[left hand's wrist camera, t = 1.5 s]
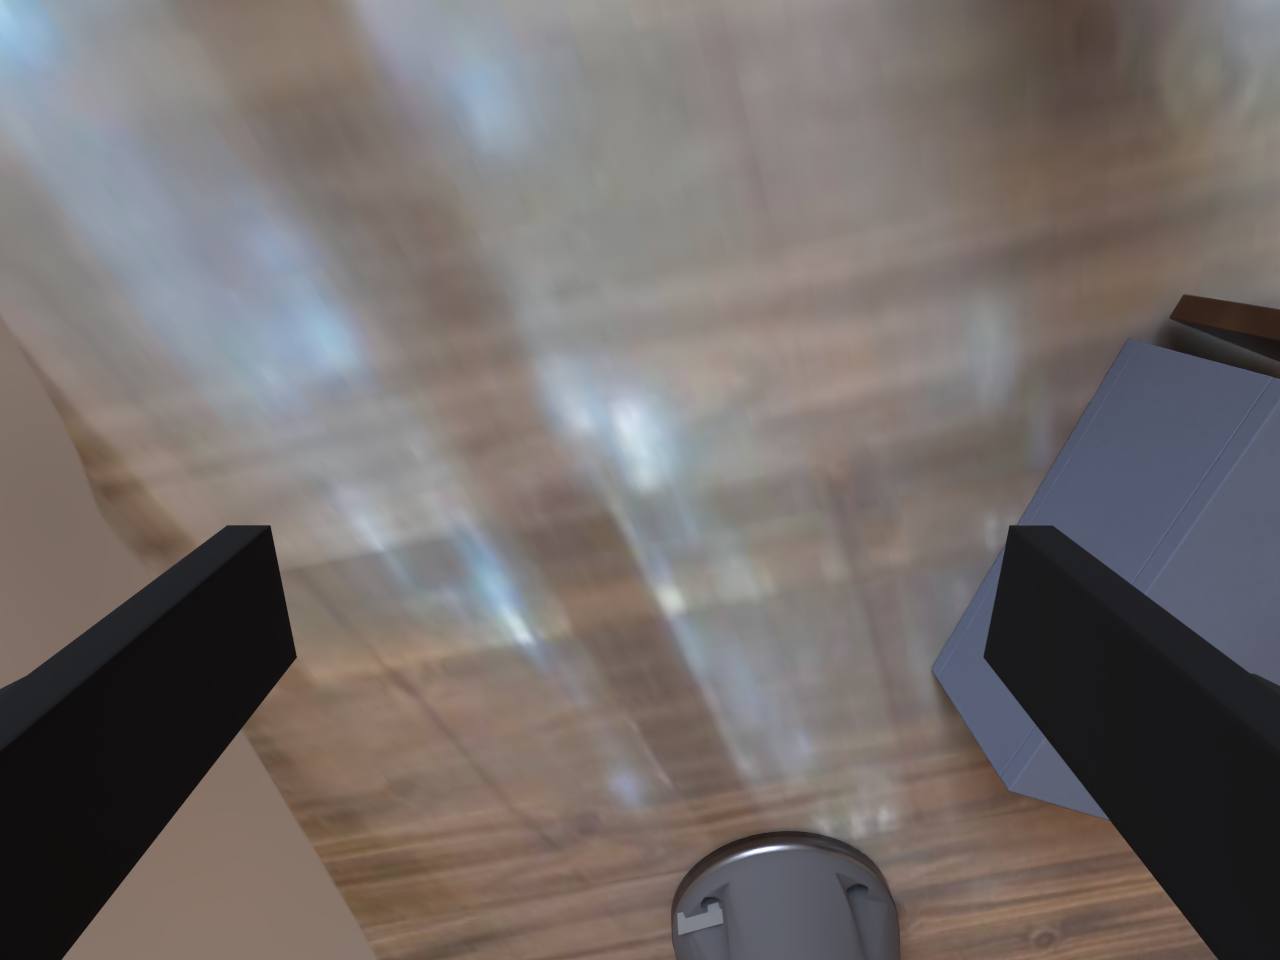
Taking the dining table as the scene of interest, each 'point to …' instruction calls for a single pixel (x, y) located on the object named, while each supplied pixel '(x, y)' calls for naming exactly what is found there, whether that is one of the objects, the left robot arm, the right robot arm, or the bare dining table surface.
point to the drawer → (1233, 323)
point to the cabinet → (1147, 536)
